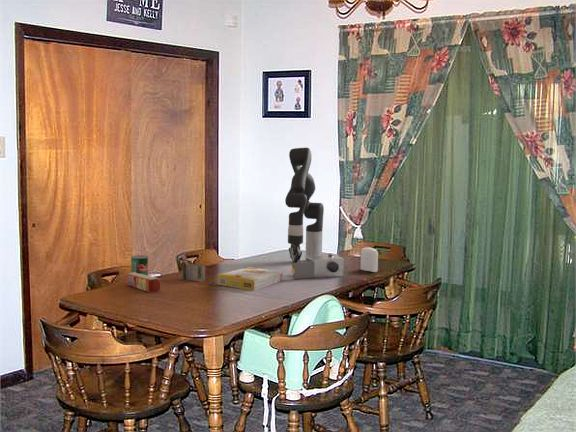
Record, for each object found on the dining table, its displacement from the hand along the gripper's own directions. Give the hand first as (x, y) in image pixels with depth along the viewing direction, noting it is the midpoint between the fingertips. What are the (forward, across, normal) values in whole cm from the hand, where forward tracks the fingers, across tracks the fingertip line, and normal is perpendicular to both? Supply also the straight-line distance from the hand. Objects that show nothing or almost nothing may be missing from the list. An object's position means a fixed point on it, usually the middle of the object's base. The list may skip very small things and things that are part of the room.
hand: (294, 268), depth 354 cm
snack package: (+5, +7, -76) cm, 76 cm away
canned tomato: (+5, -16, -74) cm, 75 cm away
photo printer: (+6, -8, +45) cm, 46 cm away
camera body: (+5, -4, +18) cm, 19 cm away
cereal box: (+5, +7, -25) cm, 26 cm away
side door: (+4, +3, +3) cm, 6 cm away
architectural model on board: (+5, -8, -49) cm, 50 cm away
